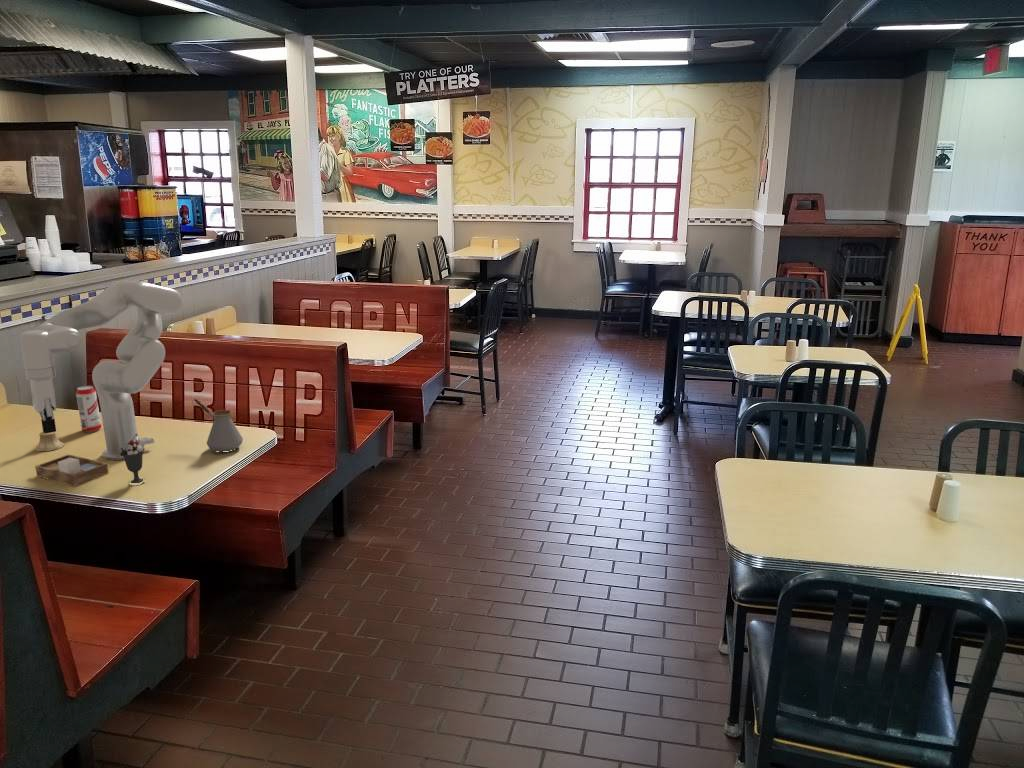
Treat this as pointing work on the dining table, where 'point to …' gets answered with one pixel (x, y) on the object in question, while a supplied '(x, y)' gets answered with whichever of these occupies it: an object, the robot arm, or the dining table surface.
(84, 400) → the beer can
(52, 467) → the tray
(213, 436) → the coffee pot
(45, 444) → the hand bell
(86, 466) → the bay
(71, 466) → the block
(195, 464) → the dining table surface
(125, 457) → the sundae
